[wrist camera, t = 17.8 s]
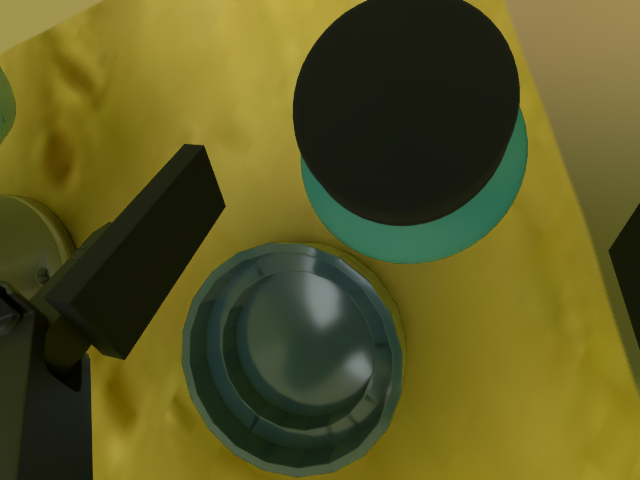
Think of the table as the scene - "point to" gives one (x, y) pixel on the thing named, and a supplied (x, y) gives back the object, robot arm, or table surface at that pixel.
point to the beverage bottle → (410, 128)
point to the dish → (294, 357)
